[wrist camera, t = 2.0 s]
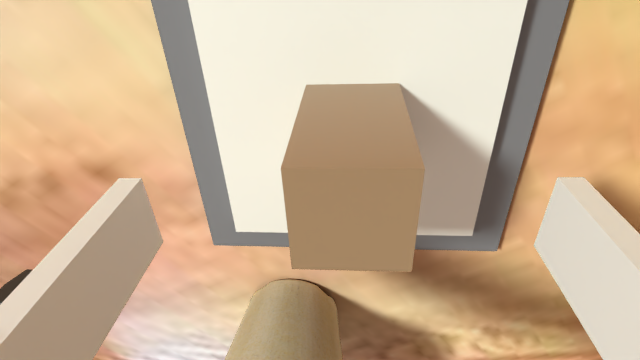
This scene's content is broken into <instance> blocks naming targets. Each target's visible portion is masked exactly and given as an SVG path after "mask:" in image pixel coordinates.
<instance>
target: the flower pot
mask: <svg viewBox="0 0 640 360" xmlns="http://www.w3.org/2000/svg"><path fill="white" fill-rule="evenodd" d="M225 360H343V358H342V350H341V342H340V335H339V325H338V315H337V307H336V304H335V302H334V300H333V298H331V297H329V296H328V295H326V294H325V293H324V292H323V291H322V290H321V289H320V288H319V287H318V286H316V285H314V284H312V283H309V282H306V281H301V280H293V279H284V280H277V281H272V282H270V283H269V284H268V285H266V286H265V287H263V288H262V289H260V290H258V291H256V292H255V293H254V294H253V296H252V298H251V301H250V303H249V306H248V308H247V310H246V312H245V315H244V317H243V319H242V322H241V324H240V326H239V328H238V331H237V333H236V335H235V337H234V340H233V342H232V344H231V346H230V349H229V351H228V353H227V355H226V358H225Z"/></svg>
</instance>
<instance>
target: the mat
mask: <svg viewBox="0 0 640 360" xmlns="http://www.w3.org/2000/svg"><path fill="white" fill-rule="evenodd" d="M151 2H152V6H153V10H154V14H155V18H156V22H157V26H158V30H159V33H160V37H161V41H162V45H163V49H164V53H165V57H166V61H167V65H168V68H169V72H170V76H171V80H172V84H173V88H174V92H175V96H176V100H177V103H178V107H179V111H180V115H181V119H182V123H183V127H184V131H185V135H186V139H187V142H188V146H189V150H190V154H191V158H192V162H193V166H194V170H195V174H196V177H197V181H198V185H199V189H200V193H201V197H202V201H203V205H204V209H205V212H206V216H207V220H208V224H209V228H210V232H211V236H212V240H213V244H214V245H228V246H276V247H289V238H288V233H275V232H236V229H235V224H234V219H233V214H232V210H231V205H230V200H229V195H228V190H227V186H226V181H225V176H224V171H223V166H222V162H221V157H220V152H219V147H218V143H217V138H216V133H215V128H214V123H213V119H212V114H211V109H210V104H209V99H208V95H207V90H206V85H205V80H204V76H203V71H202V66H201V61H200V56H199V52H198V47H197V42H196V37H195V32H194V28H193V23H192V18H191V13H190V8H189V4H188V0H151ZM568 4H569V0H528V1H527V5H526V9H525V13H524V18H523V22H522V26H521V30H520V35H519V39H518V43H517V47H516V52H515V56H514V60H513V64H512V69H511V73H510V77H509V81H508V86H507V90H506V94H505V98H504V103H503V107H502V111H501V115H500V120H499V124H498V128H497V133H496V137H495V141H494V145H493V150H492V154H491V158H490V162H489V167H488V171H487V175H486V179H485V184H484V188H483V192H482V196H481V201H480V205H479V209H478V213H477V218H476V222H475V226H474V230H473V235H472V236H444V235H416V243H415V249H420V250H468V251H497V249H498V245H499V242H500V238H501V235H502V231H503V228H504V225H505V221H506V218H507V214H508V211H509V207H510V204H511V200H512V197H513V193H514V190H515V187H516V183H517V180H518V176H519V173H520V169H521V166H522V162H523V159H524V156H525V152H526V149H527V145H528V142H529V138H530V135H531V131H532V128H533V124H534V121H535V118H536V114H537V111H538V107H539V104H540V100H541V97H542V93H543V90H544V87H545V83H546V80H547V76H548V73H549V69H550V66H551V62H552V59H553V55H554V52H555V49H556V45H557V42H558V38H559V35H560V31H561V28H562V24H563V21H564V18H565V14H566V11H567V7H568Z"/></svg>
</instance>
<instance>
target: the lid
mask: <svg viewBox="0 0 640 360" xmlns="http://www.w3.org/2000/svg"><path fill="white" fill-rule="evenodd" d="M527 1H528V0H188V4H189V8H190V13H191V18H192V23H193V28H194V32H195V37H196V42H197V47H198V52H199V56H200V61H201V66H202V71H203V76H204V80H205V85H206V90H207V95H208V99H209V104H210V109H211V114H212V119H213V123H214V128H215V133H216V138H217V143H218V147H219V152H220V157H221V162H222V166H223V171H224V176H225V181H226V186H227V190H228V195H229V200H230V205H231V210H232V214H233V219H234V224H235V229H236V232H275V233H288V238H289V247H290V256H291V265H292V269H315V270H354V271H393V272H412V266H413V258H414V250H415V243H416V235H444V236H472V235H473V230H474V226H475V222H476V218H477V213H478V209H479V205H480V201H481V196H482V192H483V188H484V184H485V179H486V175H487V171H488V167H489V162H490V158H491V154H492V150H493V145H494V141H495V137H496V133H497V128H498V124H499V120H500V115H501V111H502V107H503V103H504V98H505V94H506V90H507V86H508V81H509V77H510V73H511V69H512V64H513V60H514V56H515V52H516V47H517V43H518V39H519V35H520V30H521V26H522V22H523V18H524V13H525V9H526V5H527Z"/></svg>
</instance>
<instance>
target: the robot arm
mask: <svg viewBox="0 0 640 360" xmlns="http://www.w3.org/2000/svg"><path fill="white" fill-rule="evenodd" d="M162 243H163V239H162V236H161V234H160V231H159V228H158V225H157V222H156V219H155V216H154V213H153V210H152V207H151V204H150V202H149V199H148V196H147V193H146V190H145V187H144V184H143V181H142V178H119V179H118V180H117V181H116V182H115V183H114V184H113V185H112V186H111V187H110V188H109V190H108V191H107V192H106V193H105V194H104V195H103V196H102V197H101V198H100V199H99V200H98V201H97V202H96V203H95V204H94V205H93V207H92V208H91V209H90V210H89V211H88V212H87V213H86V214H85V215H84V216H83V217H82V218H81V219H80V220H79V221H78V222H77V224H76V225H75V226H74V227H73V228H72V229H71V230H70V231H69V232H68V233H67V234H66V235H65V236H64V237H63V238H62V239H61V241H60V242H59V243H58V244H57V245H56V246H55V247H54V248H53V249H52V250H51V251H50V252H49V253H48V254H47V255H46V257H45V258H44V259H43V260H42V261H41V262H40V263H39V264H38V265H37V266H36V267H35V268H34V269H33V270H28V269H27V270H25V271H24V272H22V273H21V274H19V275H18V276H16V277H15V278H13V279H12V280H10V281H9V282H7V283H6V284H5V285H4V286H3V287H2V288H1V289H0V360H93V358H94V356H95V355H96V353H97V351H98V350H99V348H100V346H101V345H102V343H103V341H104V340H105V338H106V336H107V335H108V333H109V331H110V330H111V328H112V326H113V325H114V323H115V321H116V320H117V318H118V316H119V315H120V313H121V311H122V310H123V308H124V306H125V305H126V303H127V301H128V300H129V298H130V296H131V295H132V293H133V291H134V290H135V288H136V286H137V285H138V283H139V281H140V280H141V278H142V276H143V275H144V273H145V271H146V270H147V268H148V266H149V265H150V263H151V261H152V260H153V258H154V256H155V255H156V253H157V251H158V250H159V248H160V246H161V245H162ZM534 247H535V248H536V250H537V252H538V253H539V255H540V257H541V258H542V260H543V261H544V263H545V265H546V266H547V268H548V270H549V271H550V273H551V275H552V276H553V278H554V280H555V281H556V283H557V285H558V286H559V288H560V290H561V291H562V293H563V294H564V296H565V298H566V299H567V301H568V303H569V304H570V306H571V308H572V309H573V311H574V313H575V314H576V316H577V318H578V319H579V321H580V322H581V324H582V326H583V327H584V329H585V331H586V332H587V334H588V336H589V337H590V339H591V341H592V342H593V344H594V346H595V347H596V349H597V351H598V352H599V354H600V355H601V357H602V359H603V360H640V234H639V233H638V232H637V231H636V230H635V229H634V228H633V227H632V226H631V225H630V224H629V223H628V222H627V221H626V220H625V219H624V218H623V217H622V216H621V215H620V214H619V213H618V211H617V210H616V209H615V208H614V207H613V206H612V205H611V204H610V203H609V202H608V201H607V200H606V199H605V198H604V197H603V196H602V195H601V194H600V193H599V192H598V191H597V190H596V189H595V188H594V187H593V186H592V185H591V184H590V183H589V182H588V181H587V180H586V179H585V178H584V177H558V178H557V181H556V183H555V186H554V189H553V192H552V195H551V198H550V201H549V204H548V206H547V209H546V212H545V215H544V218H543V221H542V224H541V226H540V229H539V232H538V235H537V238H536V241H535V244H534Z"/></svg>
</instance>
